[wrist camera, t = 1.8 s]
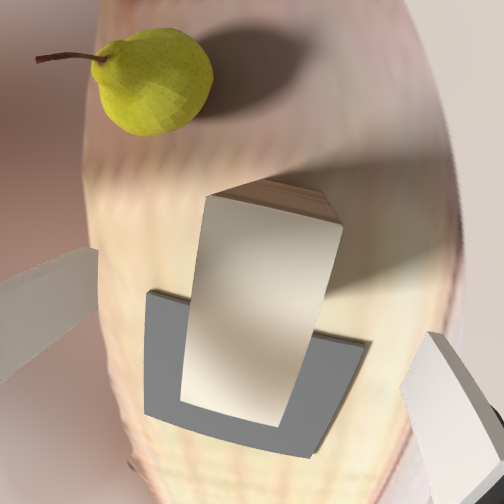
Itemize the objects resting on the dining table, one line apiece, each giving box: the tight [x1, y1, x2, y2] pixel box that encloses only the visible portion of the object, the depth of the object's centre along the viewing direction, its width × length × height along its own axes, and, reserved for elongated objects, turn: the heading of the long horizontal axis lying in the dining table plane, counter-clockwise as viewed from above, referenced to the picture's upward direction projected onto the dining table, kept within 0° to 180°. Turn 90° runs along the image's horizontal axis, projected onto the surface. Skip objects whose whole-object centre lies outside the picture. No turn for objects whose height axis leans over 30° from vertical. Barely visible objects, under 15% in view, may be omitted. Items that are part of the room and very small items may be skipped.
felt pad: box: [144, 290, 365, 459], centre depth 25 cm, size 14×17×1 cm
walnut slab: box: [180, 179, 343, 427], centre depth 16 cm, size 8×4×12 cm, turn 168°
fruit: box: [36, 28, 214, 136], centre depth 14 cm, size 7×7×12 cm
